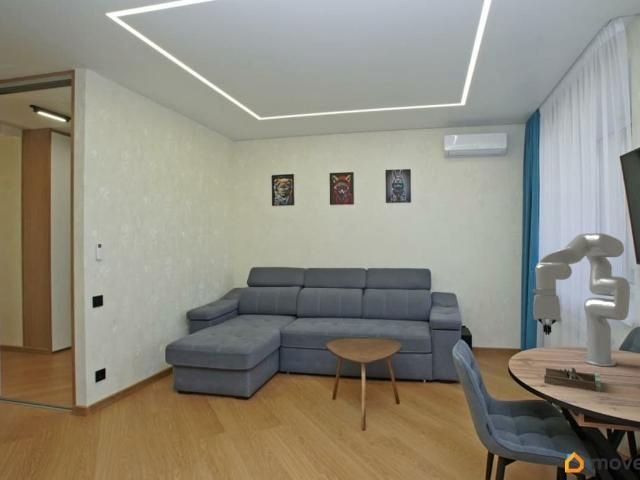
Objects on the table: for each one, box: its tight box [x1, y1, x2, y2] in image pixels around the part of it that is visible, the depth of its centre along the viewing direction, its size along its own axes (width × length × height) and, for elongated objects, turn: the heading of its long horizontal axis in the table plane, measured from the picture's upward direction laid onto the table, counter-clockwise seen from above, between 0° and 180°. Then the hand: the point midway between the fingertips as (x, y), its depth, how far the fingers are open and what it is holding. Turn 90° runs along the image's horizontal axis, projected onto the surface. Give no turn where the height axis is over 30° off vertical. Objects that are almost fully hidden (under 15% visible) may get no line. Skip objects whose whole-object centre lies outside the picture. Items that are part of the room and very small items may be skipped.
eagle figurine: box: [559, 367, 584, 381], centre depth 165 cm, size 8×7×9 cm
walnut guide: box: [543, 367, 602, 392], centre depth 166 cm, size 12×20×4 cm, turn 57°
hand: (547, 334), depth 171 cm, fingers closed
